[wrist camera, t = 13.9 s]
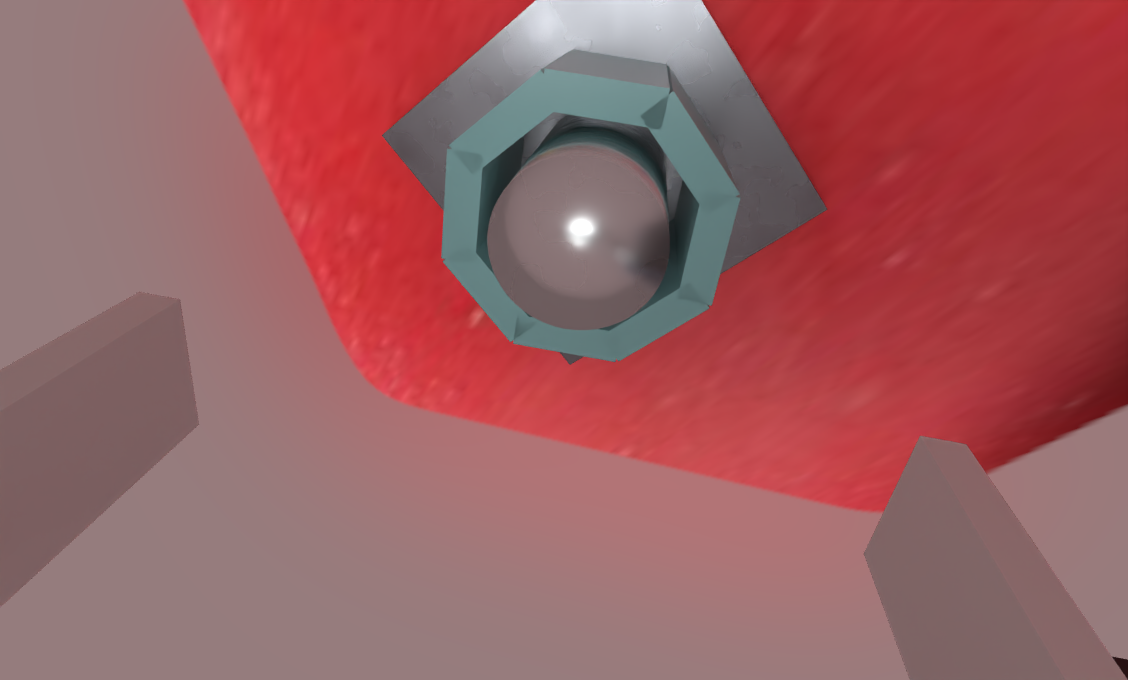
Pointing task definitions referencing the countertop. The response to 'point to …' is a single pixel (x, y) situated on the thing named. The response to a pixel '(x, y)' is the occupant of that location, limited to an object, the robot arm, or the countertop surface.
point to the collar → (611, 95)
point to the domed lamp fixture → (606, 159)
